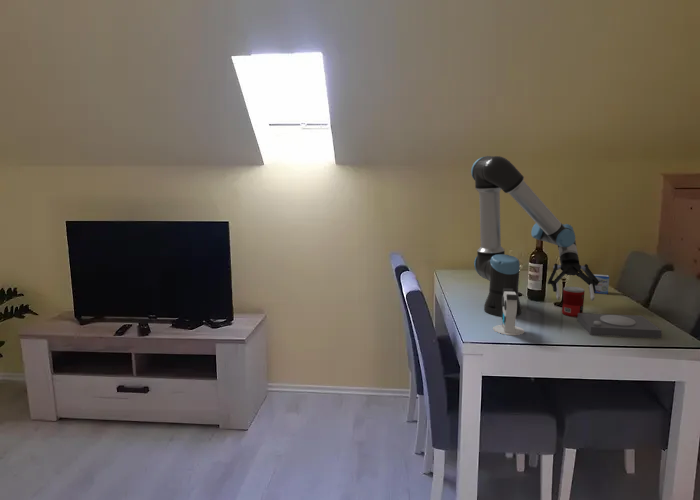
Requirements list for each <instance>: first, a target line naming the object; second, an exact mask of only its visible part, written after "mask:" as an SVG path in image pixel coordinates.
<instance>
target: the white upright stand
mask: <svg viewBox="0 0 700 500" xmlns="http://www.w3.org/2000/svg"><path fill="white" fill-rule="evenodd" d="M502 307H503V312H502V316H501V320H502V321H501V322H502V324H498V325H497V324H496V325H494V326H493V327H492V330H494V331H493V332H495V333H496V332H498V333H497V334H499V333H501V334H500V335H503V334H506V336H521V335H523V334H525V330H524V328H522V327H520V326H517V325H516V318H517V315H516V313H517V295H516V293H515V292H513V289H505V288H504V289H503V296H502ZM520 334H521V335H520Z"/></svg>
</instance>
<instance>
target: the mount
mask: <svg viewBox="0 0 700 500" xmlns="http://www.w3.org/2000/svg"><path fill="white" fill-rule="evenodd" d="M576 318H577V322H578V323H579V324H580V325H581V326H582V328H584V330H585V331H586V332H587V333H588V334H589V335H590V336H602V337H603V336H606V337H623V338H625V337H627V338H645V339H646V338H647V339H661V338H662V329H660V327H658V326H656V325H655V324H654V323H653V322H652V321H650V320H648V319H647V318H646V317H644V316H643V315H632V314H631V315H630V314H614V313H613V314H612V313H611V314H607V313H587V312H586V313H585V312H583V313H578V317H576Z"/></svg>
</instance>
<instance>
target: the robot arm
mask: <svg viewBox="0 0 700 500" xmlns="http://www.w3.org/2000/svg"><path fill="white" fill-rule="evenodd" d="M470 169H471V171H470V172H471V174H470V175H471V177H472V179H473V180H474V187H475V190H476V191H477V192H478V194H479V195H478V198H479V199H478V200H479V203H478V204H479V228H480V229H479V230H480V247H479V248H478V249H477V253H476V254H477V256H475V259H474V260H473V261H474V262H473V264H474V270H475V271H476V273H477V274H478V276H480V277H481V278H482V279H485V280H487V281H489V288H488V289H489V291H488V292H489V293H488V295H487V297H486V300H485V302H484V305H483V311H484V312H486V313H488V314H491V315H494V316H499V317H502V312H503V307H502V296H503V289H504V288H505V289H513V292H515V293H516V295H517V313H516V316H519V315H521V314H522V304H521V301H520V297H519V285H520V284H519V283H520V270H521V266H520V265H521V264H520V263H521V262H520V260H519V259H518V258H517V257H516V256H515V255H514V256H513V255H509V254H505V248H503V246H502V244H501V243H502V240H501V235H502V234H501V233H502V232H501V196H500V192H501V190H502V192H503V193H504V194H509V195H510V196H511V197H512V198H513V200H515V202H516V203H518V206H519V207H521V208H522V210H523V211H524V212H526V214H527V215H528V216H529V217H530V218H531V219H532V220H533V222H534V224H533V226H532V227H531V231H530V232H531V233H530V234H531V237H532V238H533V239H535V240H537V241H542V242H545V243H546V242H547V243H549V244H552V245H556V246H557V249H558V255H559V262H560V263H559V264H557V263H554V265H553V268H552V269H553V270H552V272H551V274H550V276H549V278H548V281H547V285H551V287H552V291H553V292H555V296H556V300H560V298H561V293H560V286H559V282H560V280H561V279H562V278H563V277H564V276H565V275H567V276H576V277H578V278H580V279H581V280H582V281H584V282H585V283H586V284H587V285H588V290H589V296H590V301H592V302H593V301H594V300H595V298H596V297H595V294H596V293H595V291H596V289H595V286H597V285H598V283H599V281H598V279H597V278H596V277H595V276H594V273H593V272H592V270H590V269H589V265H588V264H586V263H585V264H584V265H581V264H580V259H579V253H578V248H577V242H576V234H575V231H574V228H573V226H572V225H571V224H568V223H565V224H564V223H562V222H561V221H560V220H559V219H558V218H557V217H556V215H554V213H553V212H552V211H551V210H550V208H548V207H547V205H546V204H545V203H544V202H543V201H542V200H541V199H540V197H539V196H538V195H537V194H536V193H535V192H534V191H533V190H532V188H531V187H530V186H529V185H528V184H527V182H526V181H525V180H524V179H525V177H524V175H523V174H522V173H521V172H520V171H519V169H517V167H516V166H515V165H514V164H513V163H512V162H511V161H510V160H509V159H507V158H506V157H504V156H501V155H499V156H497V155H496V156H491V155H485V156H482V157H479V158H478V159H476V160H475V162H473V164H472V166H471V168H470ZM559 269H560V271H561V272H560V273H559V274H558V275H557V276H556V278H555V279H554V277H555V275H556V273H557V271H558V270H559ZM553 279H554V280H553Z"/></svg>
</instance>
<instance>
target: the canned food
mask: <svg viewBox="0 0 700 500" xmlns="http://www.w3.org/2000/svg"><path fill="white" fill-rule="evenodd" d="M585 291H586V290H585V289H584V288H583V287H579V286H564V287H563V291H562V303H561V305H562V307H561V313H562V314H563V315H564V316H565V317H571V318H577V317H578V313H584V303H585Z"/></svg>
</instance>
